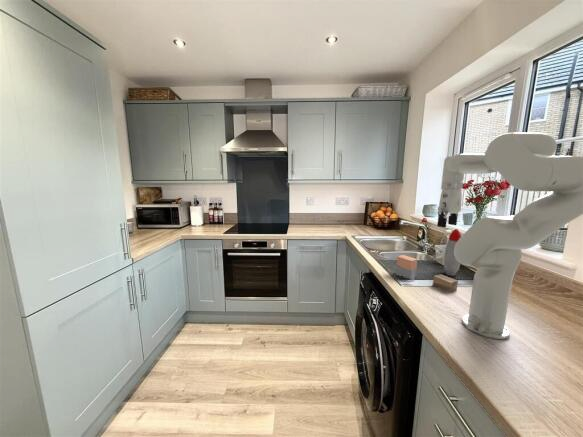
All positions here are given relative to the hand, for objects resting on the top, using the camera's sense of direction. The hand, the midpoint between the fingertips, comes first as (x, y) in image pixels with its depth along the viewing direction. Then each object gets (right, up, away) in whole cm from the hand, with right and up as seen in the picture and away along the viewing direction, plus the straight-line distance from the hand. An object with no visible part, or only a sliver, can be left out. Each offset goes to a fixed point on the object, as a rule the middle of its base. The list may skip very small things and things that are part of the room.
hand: (446, 225), depth 102 cm
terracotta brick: (-8, -22, +21) cm, 31 cm away
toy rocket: (+18, -27, +24) cm, 41 cm away
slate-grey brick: (-8, -27, +21) cm, 35 cm away
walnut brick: (+4, -30, +8) cm, 31 cm away
